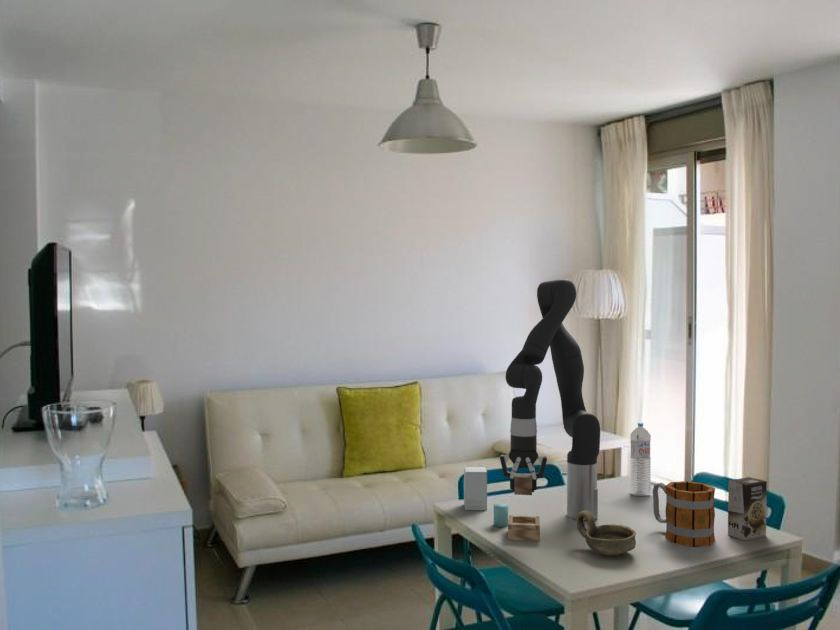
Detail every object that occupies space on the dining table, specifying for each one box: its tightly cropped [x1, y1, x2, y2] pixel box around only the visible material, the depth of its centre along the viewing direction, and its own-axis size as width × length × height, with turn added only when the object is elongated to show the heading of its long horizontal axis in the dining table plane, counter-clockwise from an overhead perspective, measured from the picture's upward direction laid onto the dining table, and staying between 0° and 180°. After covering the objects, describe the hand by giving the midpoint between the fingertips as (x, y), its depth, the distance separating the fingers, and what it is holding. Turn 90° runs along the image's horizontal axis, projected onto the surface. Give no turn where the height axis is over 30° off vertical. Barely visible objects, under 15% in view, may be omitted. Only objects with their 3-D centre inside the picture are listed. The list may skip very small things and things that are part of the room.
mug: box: [652, 480, 716, 548], centre depth 218 cm, size 20×14×15 cm
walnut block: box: [513, 472, 533, 496], centre depth 219 cm, size 5×5×5 cm
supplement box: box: [463, 466, 488, 511], centre depth 248 cm, size 7×7×13 cm
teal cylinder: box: [493, 503, 509, 528], centre depth 229 cm, size 4×4×6 cm
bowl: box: [575, 510, 637, 556], centre depth 205 cm, size 14×18×10 cm
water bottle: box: [629, 422, 652, 497], centre depth 263 cm, size 7×7×25 cm
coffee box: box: [727, 476, 768, 541], centre depth 218 cm, size 9×6×16 cm
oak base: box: [507, 514, 541, 542], centre depth 219 cm, size 9×9×4 cm
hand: (523, 490), depth 219 cm, fingers closed on walnut block, 5 cm apart
